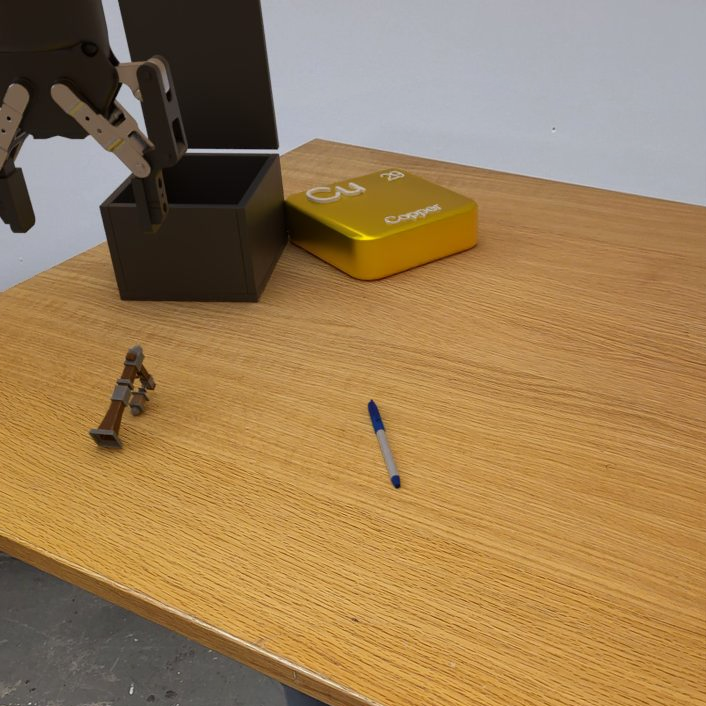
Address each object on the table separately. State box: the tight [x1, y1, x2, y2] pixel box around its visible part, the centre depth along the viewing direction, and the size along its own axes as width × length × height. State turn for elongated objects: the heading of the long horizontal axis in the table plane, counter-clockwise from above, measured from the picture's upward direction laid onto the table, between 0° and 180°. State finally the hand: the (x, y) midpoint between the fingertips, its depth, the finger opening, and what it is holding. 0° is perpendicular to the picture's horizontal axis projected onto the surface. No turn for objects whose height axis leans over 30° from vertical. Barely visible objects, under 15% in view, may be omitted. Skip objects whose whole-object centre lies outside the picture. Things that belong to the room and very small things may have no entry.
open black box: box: [98, 152, 290, 303], centre depth 88 cm, size 15×13×9 cm
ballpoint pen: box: [367, 399, 401, 489], centre depth 66 cm, size 10×1×1 cm, turn 15°
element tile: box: [284, 167, 479, 281], centre depth 94 cm, size 15×15×5 cm
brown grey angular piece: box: [87, 345, 157, 449], centre depth 68 cm, size 2×8×4 cm, turn 171°
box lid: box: [117, 0, 280, 151], centre depth 88 cm, size 15×13×5 cm
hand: (88, 229), depth 61 cm, fingers open, 8 cm apart
